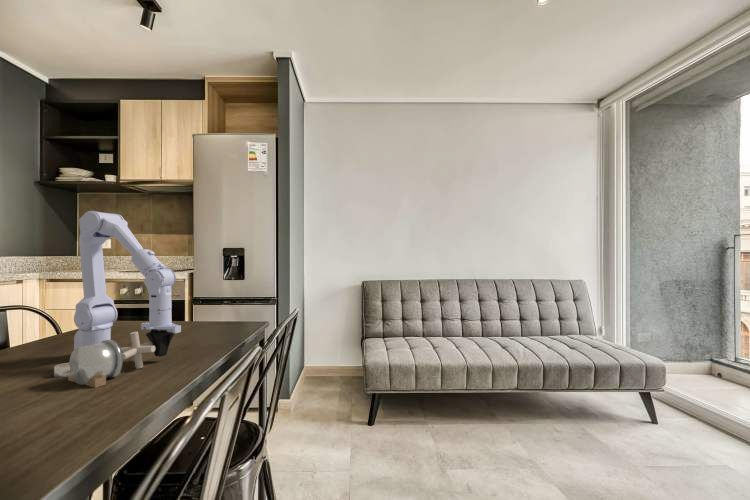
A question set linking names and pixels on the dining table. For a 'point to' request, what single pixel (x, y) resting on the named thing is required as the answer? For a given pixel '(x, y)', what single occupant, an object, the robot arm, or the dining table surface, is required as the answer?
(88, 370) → the duct stub
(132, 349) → the pipe connector
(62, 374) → the foil tape roll
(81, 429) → the dining table surface
